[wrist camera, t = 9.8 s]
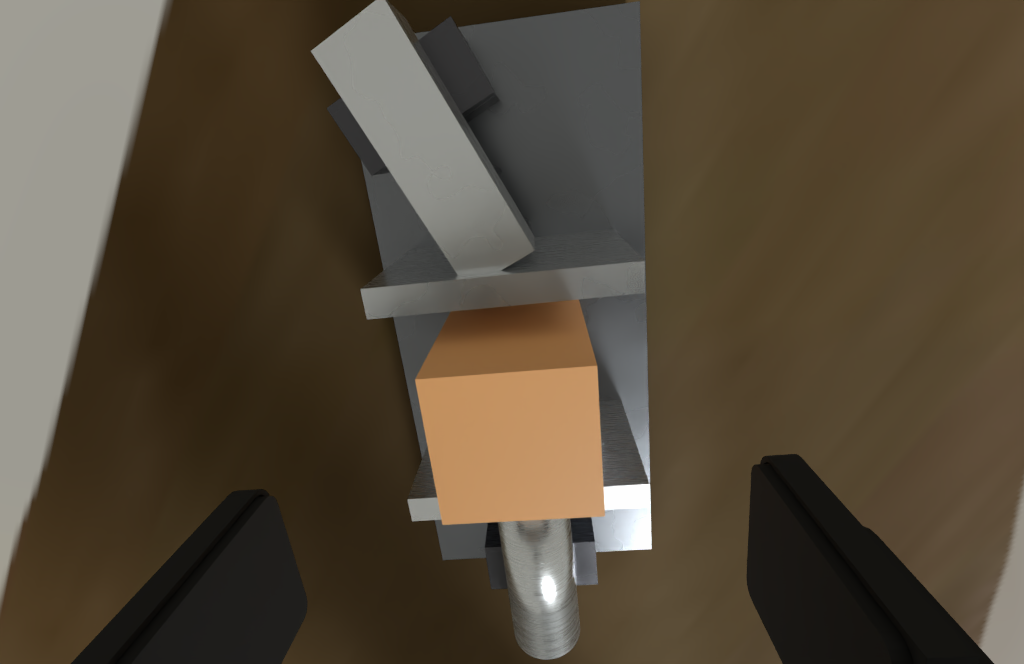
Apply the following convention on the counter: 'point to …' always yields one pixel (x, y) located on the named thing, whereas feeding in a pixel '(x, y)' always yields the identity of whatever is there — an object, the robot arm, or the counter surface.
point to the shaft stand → (512, 243)
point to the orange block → (513, 415)
